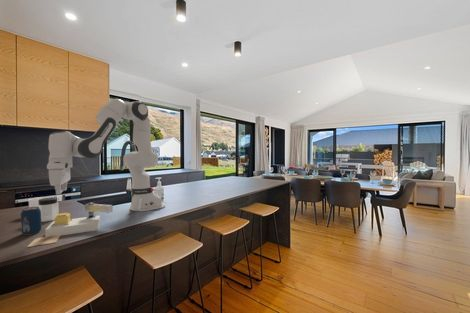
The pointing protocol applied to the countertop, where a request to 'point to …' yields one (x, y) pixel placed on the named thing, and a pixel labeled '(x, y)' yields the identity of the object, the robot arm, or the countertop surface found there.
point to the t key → (98, 208)
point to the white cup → (34, 201)
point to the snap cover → (62, 218)
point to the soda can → (30, 220)
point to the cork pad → (44, 241)
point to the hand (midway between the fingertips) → (61, 192)
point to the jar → (48, 208)
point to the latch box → (73, 226)
